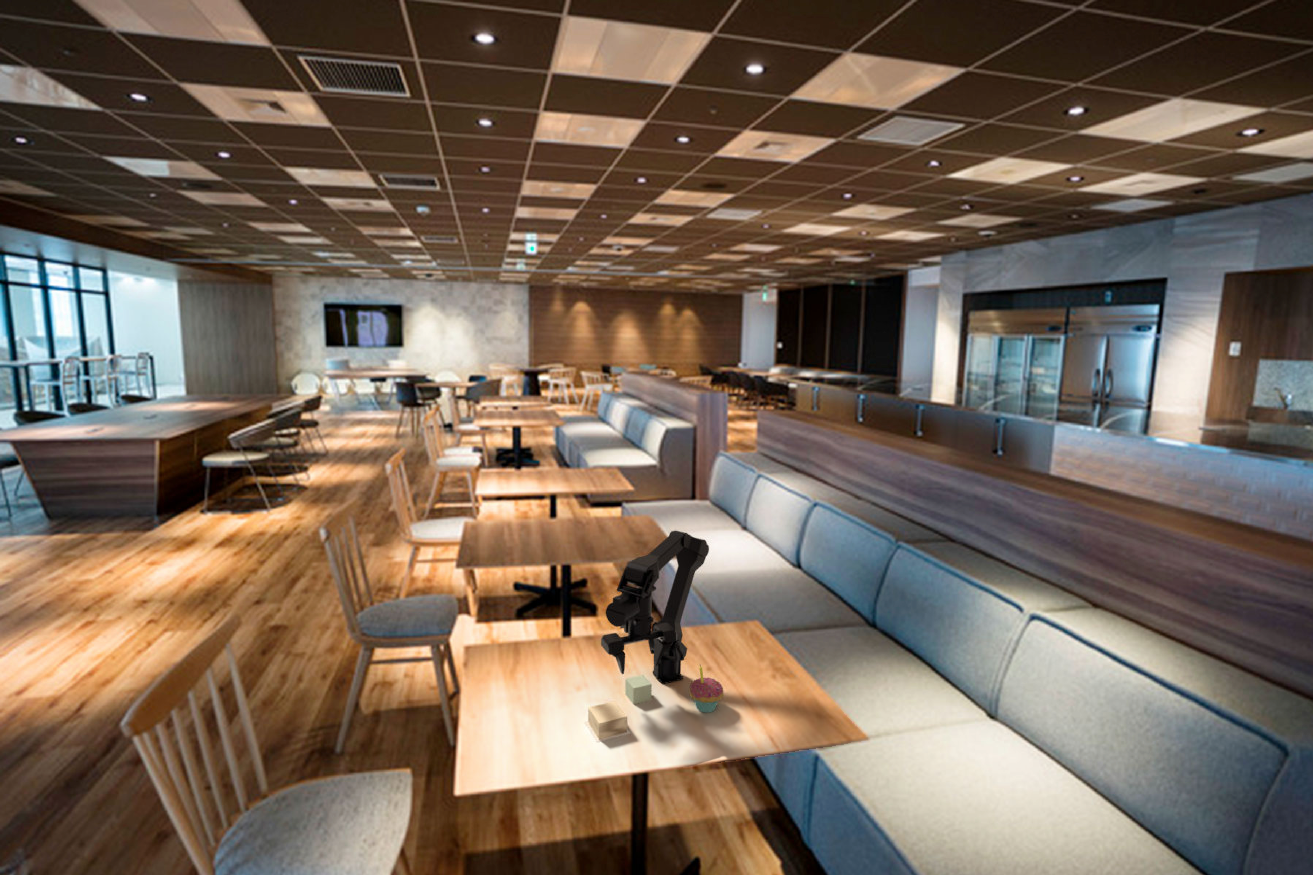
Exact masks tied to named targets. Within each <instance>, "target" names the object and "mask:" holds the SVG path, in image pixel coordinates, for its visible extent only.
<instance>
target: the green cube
mask: <svg viewBox="0 0 1313 875" xmlns="http://www.w3.org/2000/svg"><path fill="white" fill-rule="evenodd" d="M624 683H625V690H624V691H625V692H624V693H625V696H626V697H627V699H629V701H630V703H631V704H633V705H636V704H640V703H644V702H645V703H646V702H648V701H651V700H652V691H653V690H652V689H653V688H652V685H653V684H652V683H651V682H650V680H649V679H648V678H647V677H646V676H645V675H644V674H641V675H637V676H632V677H628V678H625V682H624Z"/></svg>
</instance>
